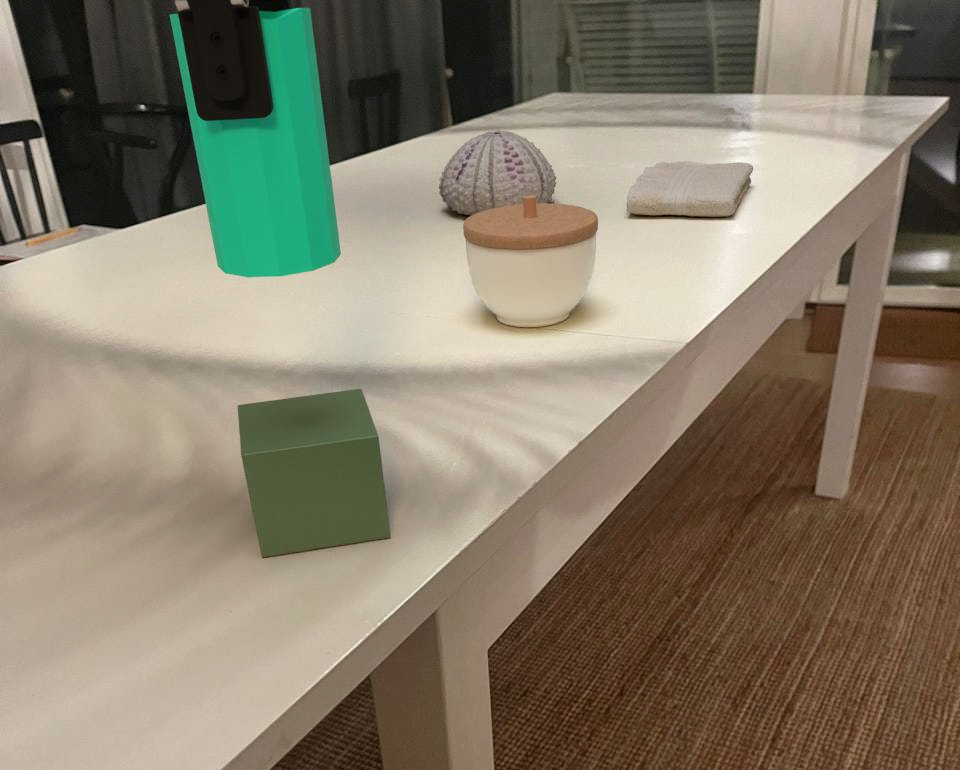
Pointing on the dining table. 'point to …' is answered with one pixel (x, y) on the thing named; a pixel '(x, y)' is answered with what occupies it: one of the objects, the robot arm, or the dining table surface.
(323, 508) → the block
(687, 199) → the washcloth
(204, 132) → the candle
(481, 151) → the sea urchin shell
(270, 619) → the dining table surface
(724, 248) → the dining table surface
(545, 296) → the trinket box
